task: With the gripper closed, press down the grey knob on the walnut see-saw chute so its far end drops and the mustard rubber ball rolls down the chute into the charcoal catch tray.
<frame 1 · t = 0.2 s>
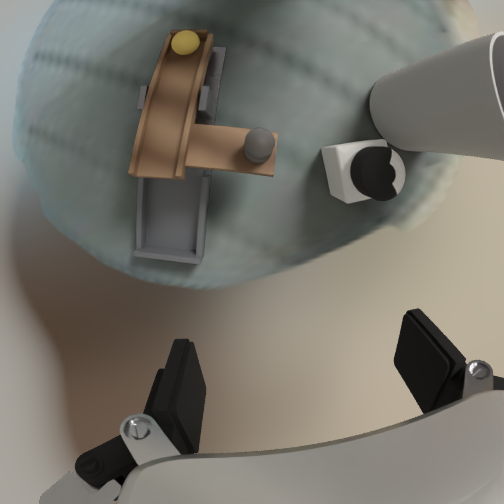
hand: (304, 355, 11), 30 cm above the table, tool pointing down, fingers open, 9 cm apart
lever: (212, 94, 27), point 7 cm above the table, hinge at -17.9°, touching ball, stand
ball: (185, 42, 26), point 6 cm above the table, tilted 12°, touching lever
stand: (184, 106, 34), on the table
catch tray: (173, 210, 39), on the table
cylinder vase: (401, 112, 34), on the table
medicine bottle: (347, 167, 38), on the table
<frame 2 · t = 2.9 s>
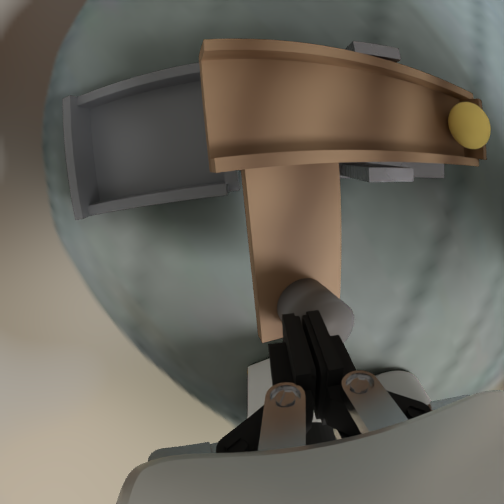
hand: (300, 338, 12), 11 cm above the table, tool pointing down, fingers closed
lever: (400, 192, 14), point 7 cm above the table, hinge at -15.2°, touching ball, gripper
ball: (469, 125, 13), point 6 cm above the table, tilted 9°, touching lever
stand: (346, 121, 19), on the table
catch tray: (153, 139, 20), on the table
cylinder vase: (374, 401, 30), on the table
medicine bottle: (291, 373, 27), on the table
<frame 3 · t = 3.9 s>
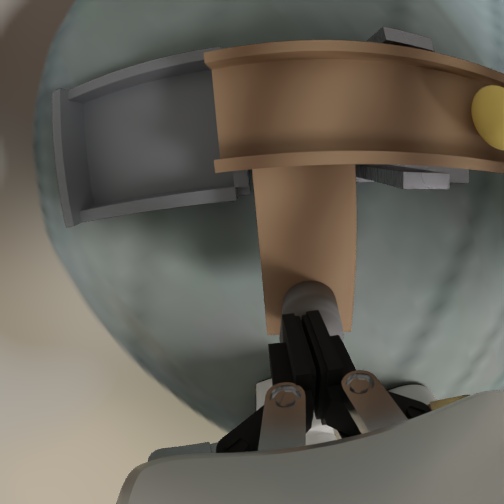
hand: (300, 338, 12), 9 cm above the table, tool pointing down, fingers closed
lever: (427, 202, 11), point 7 cm above the table, hinge at 7.8°, touching ball, gripper
ball: (499, 117, 8), point 9 cm above the table, tilted 106°, touching lever
stand: (368, 119, 17), on the table
catch tray: (153, 136, 17), on the table
cylinder vase: (386, 414, 27), on the table
medicine bottle: (302, 390, 25), on the table
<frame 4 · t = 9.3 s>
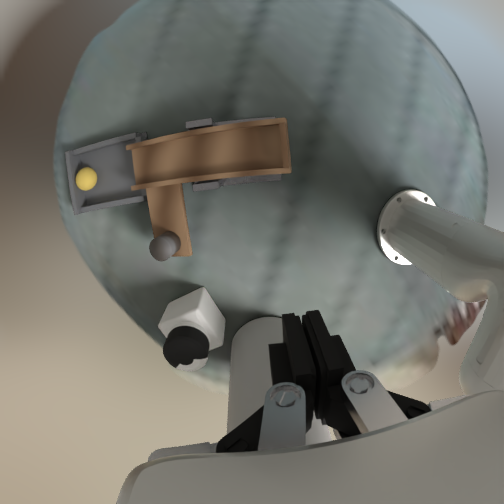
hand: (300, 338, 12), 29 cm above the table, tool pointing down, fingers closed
lever: (203, 195, 31), point 7 cm above the table, hinge at 13.7°
ball: (86, 178, 35), point 2 cm above the table, tilted 158°, touching catch tray
stand: (209, 155, 37), on the table
catch tray: (112, 172, 37), on the table
cylinder vase: (267, 343, 47), on the table
medicine bottle: (197, 310, 45), on the table
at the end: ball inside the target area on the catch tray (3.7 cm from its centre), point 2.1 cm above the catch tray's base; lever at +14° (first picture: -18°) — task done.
